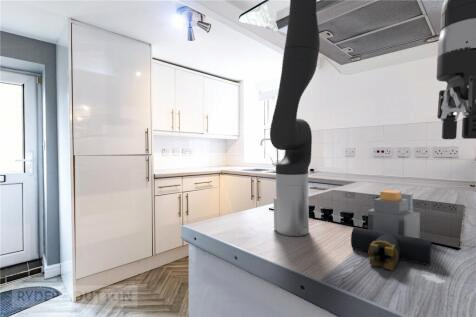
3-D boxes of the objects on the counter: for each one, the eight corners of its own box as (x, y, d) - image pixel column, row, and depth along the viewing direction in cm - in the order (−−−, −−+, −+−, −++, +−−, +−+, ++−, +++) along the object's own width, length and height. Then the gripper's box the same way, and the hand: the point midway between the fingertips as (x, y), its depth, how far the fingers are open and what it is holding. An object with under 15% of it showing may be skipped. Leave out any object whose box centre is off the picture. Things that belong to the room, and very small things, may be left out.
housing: (368, 240, 66) (368, 199, 65) (385, 231, 73) (385, 193, 72) (403, 250, 59) (404, 204, 59) (419, 238, 66) (419, 197, 66)
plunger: (380, 202, 64) (380, 191, 64) (385, 200, 67) (385, 190, 67) (395, 204, 62) (395, 193, 62) (401, 202, 64) (401, 191, 64)
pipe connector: (427, 253, 45) (342, 236, 55) (427, 282, 46) (342, 260, 55) (431, 237, 54) (356, 224, 64) (430, 261, 54) (356, 245, 64)
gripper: (425, 65, 55) (422, 139, 56) (455, 39, 41) (451, 138, 42) (468, 61, 52) (464, 139, 53) (516, 32, 39) (509, 138, 40)
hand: (458, 138), depth 48 cm, fingers open, 8 cm apart
